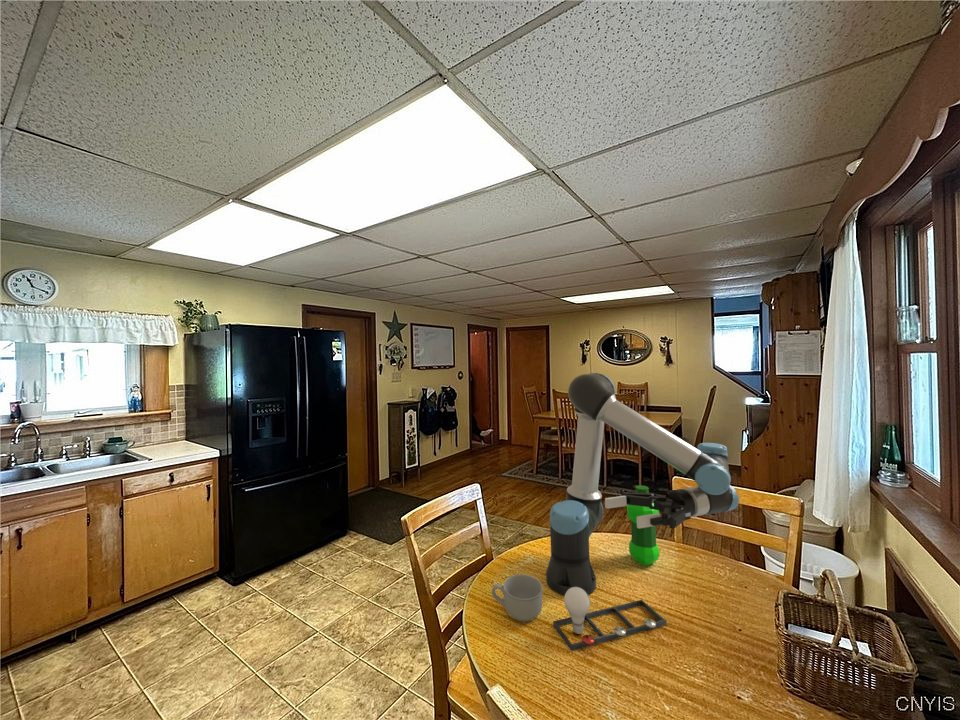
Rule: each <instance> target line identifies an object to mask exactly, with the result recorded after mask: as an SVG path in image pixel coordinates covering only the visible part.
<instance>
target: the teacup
mask: <svg viewBox="0 0 960 720" xmlns="http://www.w3.org/2000/svg"><path fill="white" fill-rule="evenodd" d="M543 587H544V586H543V583H542V582H541V581H540V580H539V579H538V578H537V577H535V576H532V575H530V574H524V573H519V574H518V573H517V574H513V575H511V576H508V577H507V578H506V579H505V580H504V582H503V585H502V584H501V583H495V584H494V585H493V586H492V587H491V596H492V597H493V599H494V600H495V601H496V602H498V603H500V605H501V606H502V607H503V608H505V610H506V613H508V615H509V617H511V618H513V619H514V620H517V621H519V622H530V621H533V620H534V619H536V618H538V616H539V615H540V614H541V612H542V608H543V591H544V588H543ZM496 590H500V591H501V594H502V595H503V598H501V597H500V596H499V595H498V594H497V593H496Z"/></svg>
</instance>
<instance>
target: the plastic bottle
mask: <svg viewBox="0 0 960 720" xmlns="http://www.w3.org/2000/svg"><path fill="white" fill-rule="evenodd" d="M649 490H650V488H649V486H646V485H635V493H650V491H649ZM652 506H654V503H652ZM656 513H659V514H660V511H659V510H654V509H650V508H649V507H644V506H636V505H628V504H627V506H626V514H627V518H628V520H630V524H631V525H630V527H631V539H630V540H629V542H628V549H629V550H628V552H629V554H630V556H631V557H632V558H633V559H634V560H635V562H637V563H638V564H640V565H644V566H650V565H652V564H653V563H655V562H656V561H658V560H659V558H660V547H659V545H658V544H657V530H656V528H657V527H656V526H652V527H646V528H637V516H643V515H650V514H656Z"/></svg>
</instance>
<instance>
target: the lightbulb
mask: <svg viewBox="0 0 960 720" xmlns="http://www.w3.org/2000/svg"><path fill="white" fill-rule="evenodd" d="M563 596H564V597H563V602H564V607H565V608H566V610H567V612H568V614H569V615H570V617H571V619H572V622H573V623H572V631H573V632H574V634H577V635H581V634H584V632H585V631H584V626H585V625H584V622H585V620H584V619H585V615H586V614H587V613H589V610H590V607H591V600H590V596H589V595H588V594H587V593H586V592H585V591H584V590H583V589H582V588H579V587H571V588H570V589H568V590H567V592H566V593H565V595H563Z"/></svg>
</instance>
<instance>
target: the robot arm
mask: <svg viewBox="0 0 960 720" xmlns="http://www.w3.org/2000/svg"><path fill="white" fill-rule="evenodd" d="M615 393H616V387H615V384H614V383H613V381H612V380H611V379H610V378H609V377H608V376H607V375H604V374H601V373H598V372H589V373H584V374H579V375H578V376H576V377H575V378H573V379H572V380H571V382H570V384H569V386H568V389H567V396H568V399H569V401H570V403H571V404H572V405H573V407H574V409H573V411H574V413H575V414H576V415H577V425H576V426H577V427H576V438H575V446H574V447H575V448H574V456H573V457H574V458H573V468H572V469H573V470H572V477H571V478H572V481H571V485H569V486H568V487H567V488H566V494H565V500H562V501H557V502H556V503H554V504H553V505H552V507H551V508H550V513H549V517H548V518H549V534H550V536H549V537H550V558H549V561H548V564H547V569H546V570H545V582H546V585H547V586H548V587H549V589H551V590H552V592H554V593H557V594H559V595H561V596H565V593H566V592H567V590H568V589H570V588H571V587H579V588H582V589H583V590H584V591H585V592H586V593H587V594H588V596H589V595H590V594H593V592H595V590H596V588H597V578H596V577H597V576H596V574H595V572H594V567H593V565H592V562H591V560H590V559H591V558H590V537H591V535H593V532H594V531H595V530H596V528H597V527H598V526H599V524H601V521H602V520H603V516H604V508H605V509H606V510H607V509H614V508H620V507H625V508H627V505H636V506H644V507H649V508H650V509H654V510H659V513H656V514H650V515H643V516H637V528H646V527H652V526H657V527H658V526H664V527H667V526H669V529H673V530H674V529H676V528H678V527H679V526H680V525H681V524H683V523H684V522H685V521H689V520H691V519H692V518H693V517H694V518H697V517H698V516H703V515H704V516H705V515H712V514H718V513H726V512H730V511H733V510H736V508H737V507H738V506H739V503H740V496H739V495H738V493H737V489H736V488H734V487H733V486H732V485H731V481H732V477H731V474H730V468H729V454H728V448H727V446H726V445H724V444H720V443H716V442H714V443H713V442H702V443H701V442H700V443H699V444H698V445H697V448H696V447H694V446H693V445H691V444H690V443H688V442H686V441H685V440H683V439H681V438H680V437H679V436H677V435H675V434H673V433H671V432H670V431H669V430H667V429H665V428H664V427H662V426H660V425H658V424H657V423H655V422H654V421H652V420H651V419H650V418H648V417H645V416H644V415H642V414H641V413H639V412H637V411H636V410H634V409H633V408H631V407H629V406H627V405H625V404H624V403H622V402H621V401H619V400H617V398H616V397H617V396H616V394H615ZM605 424H606V425H608V426H609V427H611V428H613V429H614V430H616V431H617V432H618V433H620V434H622V435H623V436H625V437H626V438H628V439H629V440H631V441H632V442H634V443H635V444H637V445H639V446H640V447H642V448H643V449H645V450H646V451H648V452H650V453H651V454H653V455H654V456H656V457H657V458H659V459H660V460H662V461H663V462H665V463H667V464H668V465H669V466H671V467H673V468H674V469H676V470H677V471H678V472H680V473H682V474H683V475H685V476H687V477H688V478H690V479H691V480H693V481H695V483H696V485H697V486H689V487H685V488H678V489H672V490H669V491H668V492H667V493H666V495H665V496H664V495H659V496H657V493H656V492H649V493H636V492H625V491H621V495H619V496H618V495H617V496H613V497H605V498H604V505H603V503H602V501H603V500H602V498H603V495H602V493H601V491H600V490H599V480H600V470H601V459H602V450H603V440H604V439H603V438H604V430H605ZM652 503H654V506H652ZM603 506H604V507H603ZM660 512H661V513H660Z"/></svg>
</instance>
